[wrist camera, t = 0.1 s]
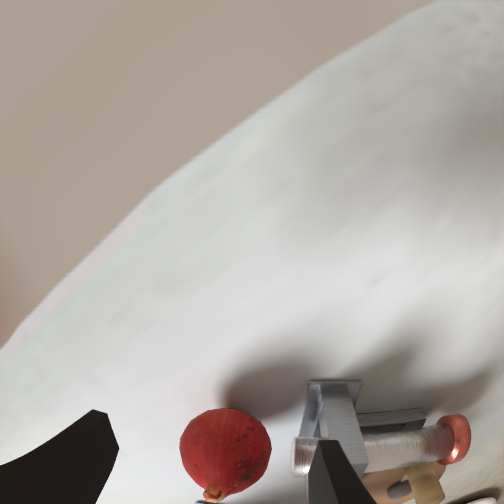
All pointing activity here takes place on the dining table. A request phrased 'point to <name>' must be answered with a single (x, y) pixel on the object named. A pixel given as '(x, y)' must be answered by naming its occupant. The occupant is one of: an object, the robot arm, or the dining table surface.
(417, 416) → the eye bracket
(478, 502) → the plated food
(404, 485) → the handwheel
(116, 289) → the dining table surface
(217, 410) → the pomegranate
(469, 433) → the copper capped rod
